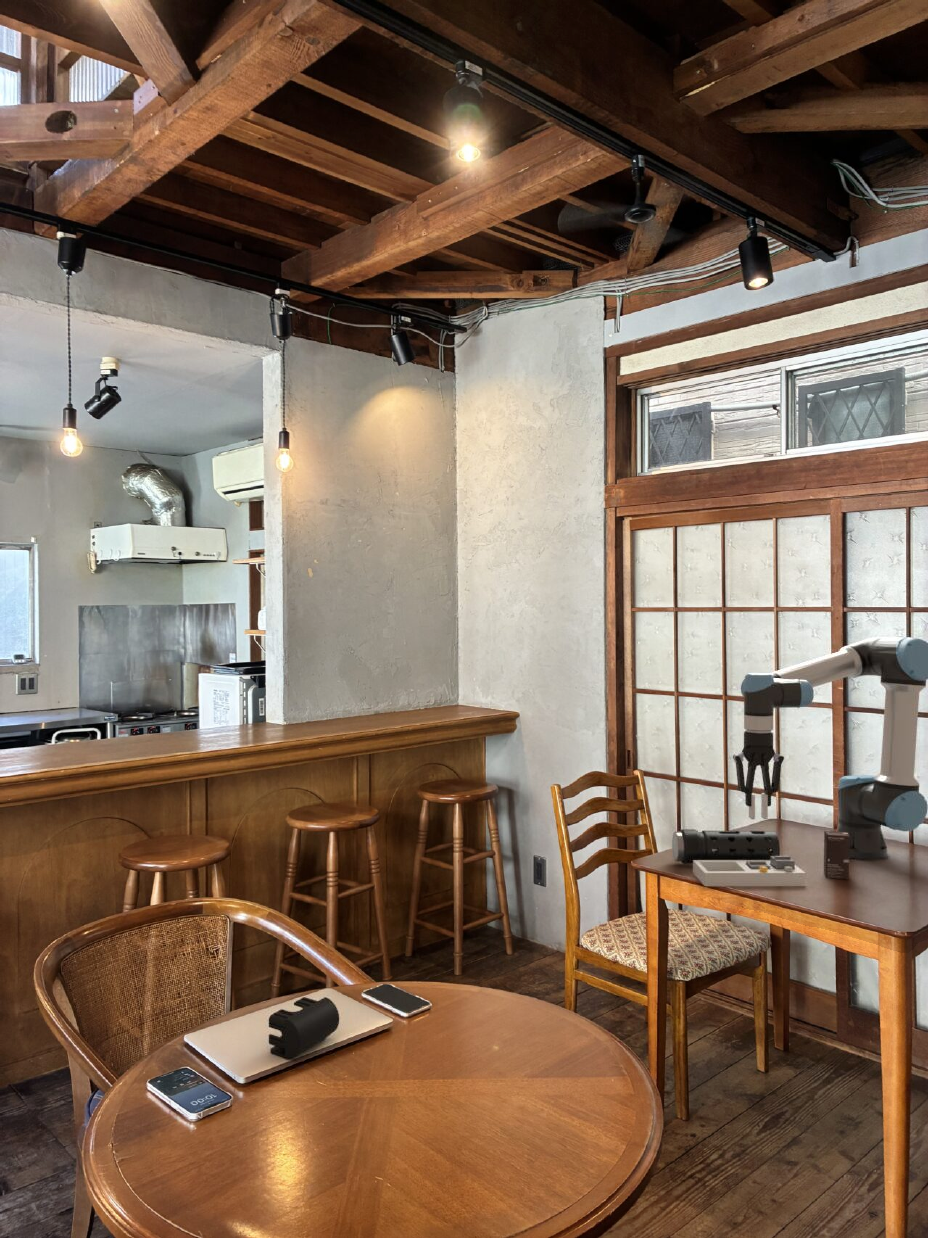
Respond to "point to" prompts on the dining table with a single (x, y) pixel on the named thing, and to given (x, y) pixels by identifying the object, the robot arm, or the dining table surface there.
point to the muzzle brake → (724, 845)
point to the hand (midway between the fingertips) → (758, 818)
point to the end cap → (302, 1026)
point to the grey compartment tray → (745, 874)
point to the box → (836, 854)
